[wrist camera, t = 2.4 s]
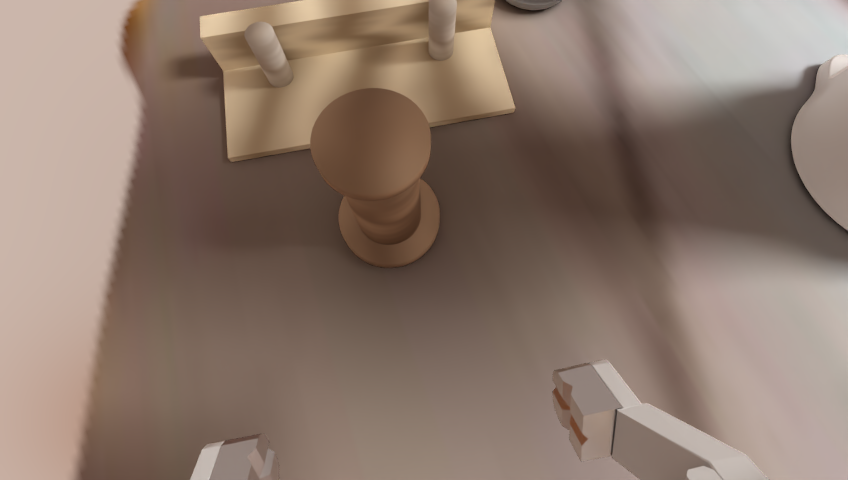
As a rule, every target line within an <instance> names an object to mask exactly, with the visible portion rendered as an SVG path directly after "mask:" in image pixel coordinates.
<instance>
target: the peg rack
mask: <svg viewBox="0 0 848 480" xmlns="http://www.w3.org/2000/svg"><path fill="white" fill-rule="evenodd" d="M494 4H495V0H303V1H296V2H290V3H283V4H277V5H271V6H264V7H258V8H251V9H245V10H239V11H232V12H226V13H219V14H213V15H206V16H200V38H201V39H202V41H203V42H204V44H205V45H206V47H207V48H208V50H209V51H210V52H211V54H212V55H213V57H214V58H215V60H216V61H217V63H218V64H219V66H220V67H221V69H222V70H223V77H224V96H225V114H226V133H227V152H228V159H229V160H230V161H231V162H235V161H241V160H246V159H252V158H258V157H263V156H269V155H275V154H280V153H286V152H292V151H298V150H303V149H309V148H310V138H311V132H312V128H313V126H314V123H315V121H316V120H317V118H318V116H319V115H320V113H321V112H322V111H323V110H324V109H325V108H326V107H327V106H328V105H329V104H330V103H331V102H332V101H334V100H335V99H337V98H338V97H340V96H342V95H344V94H346V93H349V92H352V91H355V90H359V89H365V88H381V89H387V90H392V91H395V92H398V93H400V94H402V95H404V96H406V97H407V98H409V99H410V100H412V101H413V102H414V103H415V104H416V105H417V106H418V107H419V108H420V109H421V110H422V112H423V113H424V115H425V117H426V119H427V121H428V124H429V127H434V126H440V125H446V124H452V123H457V122H463V121H469V120H474V119H480V118H486V117H491V116H497V115H503V114H509V113H514V111H515V105H514V102H513V99H512V95H511V92H510V89H509V86H508V83H507V79H506V76H505V73H504V70H503V67H502V64H501V60H500V57H499V54H498V51H497V48H496V45H495V41H494V38H493V35H492V32H491V29H490V25H491V20H492V15H493V9H494Z"/></svg>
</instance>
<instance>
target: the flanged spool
mask: <svg viewBox="0 0 848 480" xmlns="http://www.w3.org/2000/svg"><path fill="white" fill-rule="evenodd" d="M310 149H311V154H312V158H313V160H314V163H315V165H316V167H317V168H318V170H319V172H320V174H321V176H322V177H323V179H324V180H325V181H326V183H327V184H328V185H330V186H331V187H332V188H333V189H334V190H336V191H337V192H339V193H340V194H342V195H344V197H343V199H342V202H341V205H340V209H339V217H338V218H339V227H340V231H341V233H342V236H343V238H344V240H345V242H346V243H347V245H348V246H349V248H350V249H351V250H352V252H353V253H354V254H355V255H356V256H357V257H359V258H360V259H361V260H363V261H365V262H366V263H369V264H371V265H374V266H377V267H383V268H396V267H401V266H405V265H408V264H410V263H413V262H414V261H416V260H418V259H419V258H421V257H422V256H423V255H424V254H425V253H426V252H427V251H428V250H429V249H430V248H431V246H432V245H433V243H434V241H435V239H436V237H437V234H438V230H439V222H440V209H439V204H438V201H437V198H436V196H435V194H434V192H433V191H432V189H431V188H430V187H429V185H428V184H427V183H426V182H425V181H423V180H422V179H421V178H420V177H421V176H422V174H423V173H424V171H425V169H426V167H427V165H428V162H429V159H430V153H431V132H430V127H429V124H428V121H427V119H426V117H425V115H424V113H423V112H422V110H421V109H420V108H419V107H418V106H417V105H416V104H415V103H414V102H413V101H412V100H410V99H409V98H407V97H406V96H404V95H402V94H400V93H398V92H395V91H392V90H387V89H381V88H365V89H359V90H355V91H352V92H349V93H346V94H344V95H342V96H340V97H338V98H337V99H335V100H334V101H332V102H331V103H330V104H329V105H328V106H327V107H326V108H325V109H324V110H323V111H322V112H321V113H320V115H319V116H318V118H317V120H316V121H315V123H314V126H313V128H312V132H311V138H310Z"/></svg>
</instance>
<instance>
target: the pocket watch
mask: <svg viewBox="0 0 848 480" xmlns="http://www.w3.org/2000/svg"><path fill="white" fill-rule="evenodd" d="M506 1H507V2H509V3H510V4H511V5H514V6H516V7H519V8H522V9H528V10H540V9H547V8H549V7H551V6H554V5H556V4H558V3H559V2H560V1H561V0H506Z"/></svg>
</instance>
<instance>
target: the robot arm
mask: <svg viewBox="0 0 848 480" xmlns="http://www.w3.org/2000/svg"><path fill="white" fill-rule="evenodd" d="M791 148H792V154H793V159H794V163H795V166H796V169H797V171H798V173H799V176H800V178H801V180H802V182H803V183H804V185H805V187H806V188H807V190H808V191H809V193H810V194H811V196H812V197H813V198H814V200H815V201H816V202H817V203H818V204H819V206H820V207H821V208H822V209H823V210H824V211H825V212H826V213H827V214H828V215H829V216H830V217H831V218H832V219H834V220H835V221H836V222H837V223H838V224H839V225H841V226H842V227H843V228H845V229H846V230H848V55H837V56H834V57H833V58H831V59H829V60H828V61H826V62H825V63H823V64H822V65H821V66H820V67H819V69H818V72H817V76H816V84H815V90H814V92H813V94H812V95H811V97H810V98H809V99H808V100H807V102H806V103H805V104H804V105H803V106H802V108H801V109H800V110H799V112H798V114H797V116H796V118H795V121H794V124H793V128H792V134H791ZM553 382H554V384H555V386H556V388H555V389H554V390H553V391H552V393H553V403H554V408H555V411H556V414H557V416H558V419H559V421H560V423H561V425H562V426H563V427H565V428H566V429H568V430H570V434H569V440H570V442H571V444H572V446H573V448H574V450H575V452H576V453H577V455H578V457H579V459H580V461H581V462H584V461H589V460H594V459H599V458H604V457H609V456H612V458H613V459H614V460H615V461H617V462H618V463H619V464H621V465H622V466H623V467H624V468H626V469H627V470H628V471H630V472H631V473H632V474H634V475H635V476H636V477H637V478H639V479H640V480H769V479H768V478H767V477H766V476H765V474H764V473H763V472H762V471H761V470H760V469H759V468H758V467H757V466H756V465H755V464H754V463H753V461H752V460H751V459H750V458H749V457H748V456H747V455H746V454H744V453H742V452H740V451H738V450H736V449H734V448H732V447H731V446H729V445H727V444H725V443H723V442H721V441H719V440H717V439H715V438H713V437H711V436H709V435H708V434H706V433H704V432H702V431H700V430H698V429H696V428H694V427H692V426H690V425H688V424H687V423H685V422H683V421H681V420H679V419H677V418H675V417H673V416H671V415H669V414H667V413H665V412H664V411H662V410H660V409H658V408H656V407H654V406H652V405H650V404H648V403H645V404H642V403H641V402H640V401H639V399H638V398H637V397H636V396H635V394H634V393H633V392H632V390H631V389H630V388H629V387H628V385H627V384H626V383H625V381H624V380H623V379H622V378H621V376H620V375H619V374H618V372H617V371H616V370H615V369H614V367H613V366H612V365H611V363H610V362H609V361H607V360H606V359H604V360H599V361H594V362H590V363H584V364H580V365H575V366H571V367H567V368H562V369H558V370H554V372H553ZM268 446H269V440H268V438H267V436H266V434H257V435H252V436H247V437H241V438H236V439H231V440H225V441H221V442H216V443H211V444H207V445H206V446H205V447H204V448H203V449H202V451H201V453H200V455H199V458H198V461H197V463H196V466H195V468H194V471H193V473H192V476H191V478H190V480H279V462H278V458H277V456H276V454H275V452H274V451H272V450H270V449H268Z"/></svg>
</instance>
